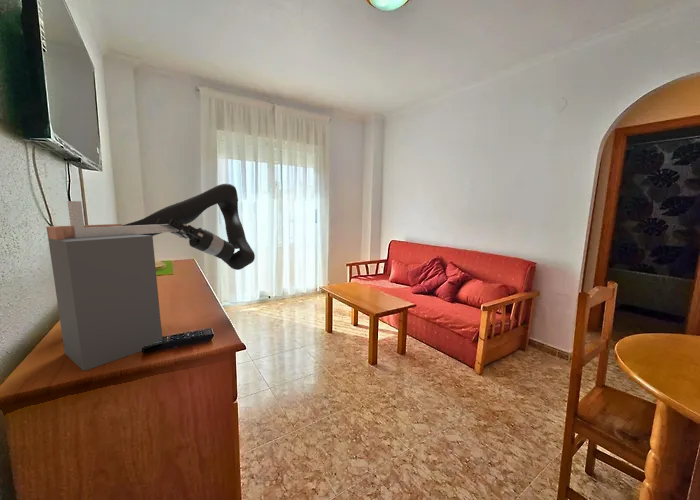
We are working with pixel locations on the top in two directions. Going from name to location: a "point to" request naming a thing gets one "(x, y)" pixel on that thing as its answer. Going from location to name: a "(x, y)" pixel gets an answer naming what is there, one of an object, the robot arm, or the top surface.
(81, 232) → the aluminium bracket
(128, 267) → the charcoal stand
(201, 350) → the top surface
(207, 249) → the robot arm
